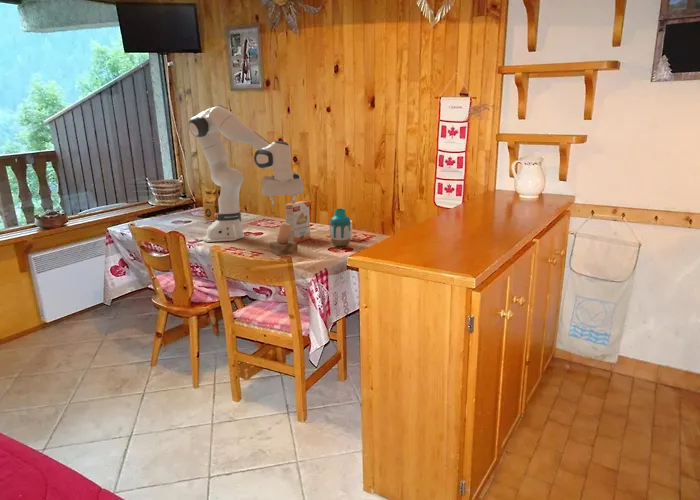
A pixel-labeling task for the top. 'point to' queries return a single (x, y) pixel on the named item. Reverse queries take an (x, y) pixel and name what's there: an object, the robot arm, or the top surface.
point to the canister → (284, 233)
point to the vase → (340, 228)
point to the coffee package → (210, 204)
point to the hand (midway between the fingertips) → (283, 204)
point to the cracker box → (298, 220)
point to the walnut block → (283, 248)
